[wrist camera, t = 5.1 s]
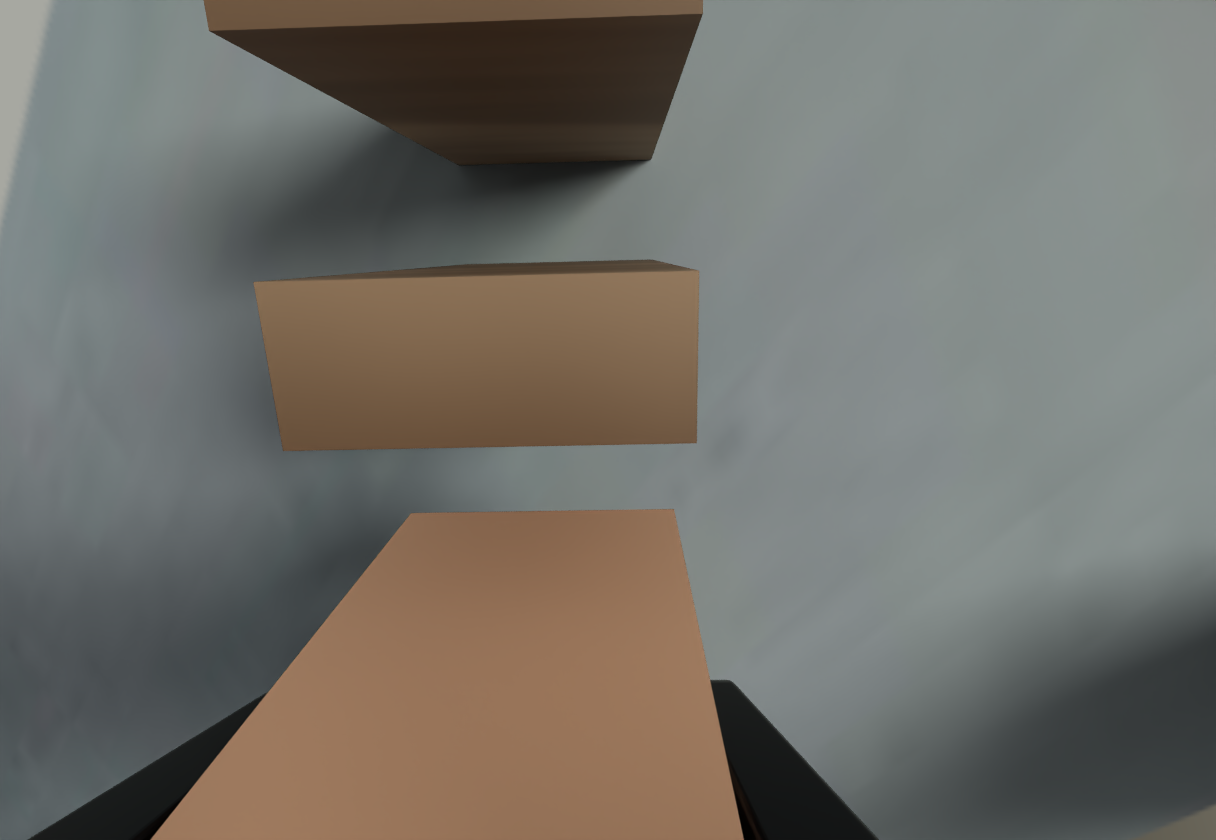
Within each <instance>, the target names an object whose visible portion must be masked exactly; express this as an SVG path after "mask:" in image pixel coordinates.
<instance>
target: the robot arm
mask: <svg viewBox="0 0 1216 840" xmlns="http://www.w3.org/2000/svg"><path fill="white" fill-rule="evenodd" d="M710 682H711V687H712V692H713V697H714V701H715V706H716V711H717V716H718V720H719V725H720V730H721V734H722V739H723V744H724V749H725V753H726V758H727V763H728V767H729V772H730V777H731V782H732V786H733V791H734V796H735V801H736V805H737V810H738V815H739V819H740V824H741V829H742V834H743V838H744V840H879V839H878V838H877V837H876V836H875V835H874V834H873V833H872V832H871V831H870V830H869V828H868V827H867V826H866V825H865V824H864V823H863V822H862V821H861V820H860V819H859V818H858V817H857V816H856V814H855V813H854V812H853V811H852V810H851V809H850V808H849V807H848V806H847V805H846V804H845V803H844V801H843V800H842V799H841V798H840V797H839V796H838V795H837V794H836V793H835V792H834V791H833V790H832V788H831V787H830V786H829V785H828V784H827V783H826V782H825V781H824V780H823V779H822V778H821V777H820V776H819V774H818V773H817V772H816V771H815V770H814V769H813V768H812V767H811V766H810V765H809V764H808V763H807V761H806V760H805V759H804V758H803V757H802V756H801V755H800V754H799V753H798V752H797V751H796V750H795V749H794V747H793V746H792V745H791V744H790V743H789V742H788V741H787V740H786V739H785V738H784V737H783V736H782V734H781V733H780V732H779V731H778V730H777V729H776V728H775V727H774V726H773V725H772V724H771V723H770V721H769V720H768V719H767V718H766V717H765V716H764V715H763V714H762V713H761V712H760V711H759V710H758V709H757V707H756V706H755V705H754V704H753V703H752V702H751V701H750V700H749V699H748V698H747V697H746V696H745V694H744V693H743V692H742V691H741V690H740V689H739V688H738V687H737V686H736V685H735V684H734V683H733V682H732V681H730V680H710ZM268 692H269V691H268ZM268 692H267V693H268ZM267 693H265V694H264V695H262V696H260V697H259V698H257V699H255V700H254V701H252V702H251V703H249V704H247V705H246V706H244V707H242V708H241V709H239V710H238V711H236V712H234V713H233V714H231V715H229V716H228V717H226V718H225V719H223V720H221V721H220V722H218V723H216V724H215V725H213V726H212V727H210V728H208V729H207V730H205V731H203V732H202V733H200V734H199V735H197V736H195V737H194V738H192V739H190V740H189V741H187V742H186V743H184V744H182V745H181V746H179V747H177V748H176V749H174V750H173V751H171V752H169V753H168V754H166V755H164V756H163V757H161V758H160V759H158V760H156V761H155V762H153V763H151V764H150V765H148V766H147V767H145V768H143V769H142V770H140V771H138V772H137V773H135V774H134V775H132V776H130V777H129V778H127V779H125V780H124V781H122V782H121V783H119V784H117V785H116V786H114V787H112V788H111V789H109V790H108V791H106V792H104V793H103V794H101V795H99V796H98V797H96V798H95V799H93V800H91V801H90V802H88V803H87V804H85V805H83V806H82V807H80V808H78V809H77V810H75V811H74V812H72V813H70V814H69V815H67V816H65V817H64V818H62V819H61V820H59V821H57V822H56V823H54V824H52V825H51V826H49V827H48V828H46V829H44V830H43V831H41V832H39V833H38V834H36V835H35V836H33V837H31V838H30V839H28V840H151V839H152V837H153V836H154V835H155V834H156V832H157V831H158V830H159V829H160V827H161V826H162V825H163V824H164V822H165V821H166V820H167V819H168V817H169V816H170V815H171V813H172V812H173V811H174V810H175V808H176V807H177V806H178V805H179V803H180V802H181V801H182V800H183V798H184V797H185V796H186V795H187V793H188V792H189V791H190V790H191V788H192V787H193V786H194V785H195V783H196V782H197V781H198V780H199V778H200V777H201V776H202V775H203V773H204V772H205V771H206V770H207V768H208V767H209V766H210V765H211V763H212V762H213V761H214V760H215V758H216V757H217V756H218V755H219V753H220V752H221V751H222V750H223V748H224V747H225V746H226V745H227V743H228V742H229V741H230V740H231V738H232V737H233V736H234V735H235V733H236V732H237V731H238V730H239V728H240V727H241V726H242V725H243V723H244V722H245V721H246V719H247V718H248V717H249V716H250V714H251V713H252V712H253V711H254V709H255V708H256V707H257V706H258V704H259V703H260V702H261V701H262V699H263V698H264V697H265V696H266V694H267Z"/></svg>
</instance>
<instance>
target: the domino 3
mask: <svg viewBox="0 0 1216 840" xmlns="http://www.w3.org/2000/svg"><path fill="white" fill-rule="evenodd" d="M151 840H744V838H743V834H742V829H741V824H740V819H739V815H738V810H737V805H736V801H735V796H734V791H733V786H732V782H731V777H730V772H729V767H728V763H727V758H726V753H725V749H724V744H723V739H722V734H721V730H720V725H719V720H718V716H717V711H716V706H715V701H714V697H713V692H712V687H711V682H710V678H709V673H708V668H707V664H706V659H705V654H704V649H703V645H702V640H701V635H700V631H699V626H698V621H697V616H696V612H695V607H694V602H693V597H692V593H691V588H690V583H689V579H688V574H687V569H686V564H685V560H684V555H683V550H682V545H681V541H680V536H679V531H678V527H677V522H676V517H675V512H674V509H652V510H585V511H519V512H452V513H411V514H410V515H409V516H408V518H407V519H406V520H405V521H404V523H403V524H402V525H401V526H400V528H399V529H398V530H397V532H396V533H395V534H394V535H393V537H392V538H391V539H390V540H389V542H388V543H387V544H386V545H385V547H384V548H383V549H382V550H381V552H380V553H379V554H378V555H377V557H376V558H375V559H374V560H373V562H372V563H371V564H370V565H369V567H368V568H367V569H366V570H365V572H364V573H363V574H362V575H361V577H360V578H359V579H358V580H357V582H356V583H355V584H354V585H353V587H352V588H351V589H350V590H349V592H348V593H347V594H346V595H345V597H344V598H343V599H342V600H341V602H340V603H339V604H338V605H337V607H336V608H335V609H334V610H333V612H332V613H331V614H330V615H329V617H328V618H327V619H326V620H325V622H324V623H323V624H322V625H321V627H320V628H319V629H318V631H317V632H316V633H315V634H314V636H313V637H312V638H311V639H310V641H309V642H308V643H307V644H306V646H305V647H304V648H303V649H302V651H301V652H300V653H299V654H298V656H297V657H296V658H295V659H294V661H293V662H292V663H291V664H290V666H289V667H288V668H287V669H286V671H285V672H284V673H283V674H282V676H281V677H280V678H279V679H278V681H277V682H276V683H275V684H274V686H273V687H272V688H271V689H270V691H269V692H268V693H267V694H266V696H265V697H264V698H263V699H262V701H261V702H260V703H259V704H258V706H257V707H256V708H255V709H254V711H253V712H252V713H251V714H250V716H249V717H248V718H247V719H246V721H245V722H244V723H243V725H242V726H241V727H240V728H239V730H238V731H237V732H236V733H235V735H234V736H233V737H232V738H231V740H230V741H229V742H228V743H227V745H226V746H225V747H224V748H223V750H222V751H221V752H220V753H219V755H218V756H217V757H216V758H215V760H214V761H213V762H212V763H211V765H210V766H209V767H208V768H207V770H206V771H205V772H204V773H203V775H202V776H201V777H200V778H199V780H198V781H197V782H196V783H195V785H194V786H193V787H192V788H191V790H190V791H189V792H188V793H187V795H186V796H185V797H184V798H183V800H182V801H181V802H180V803H179V805H178V806H177V807H176V808H175V810H174V811H173V812H172V813H171V815H170V816H169V817H168V819H167V820H166V821H165V822H164V824H163V825H162V826H161V827H160V829H159V830H158V831H157V832H156V834H155V835H154V836H153V837H152V839H151Z"/></svg>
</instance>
